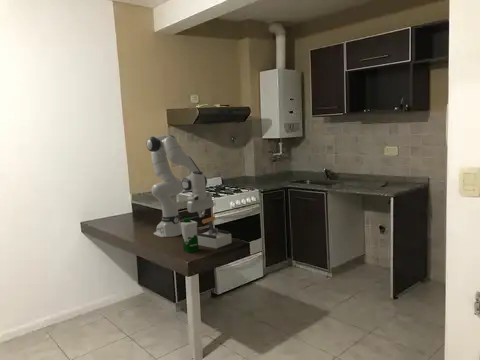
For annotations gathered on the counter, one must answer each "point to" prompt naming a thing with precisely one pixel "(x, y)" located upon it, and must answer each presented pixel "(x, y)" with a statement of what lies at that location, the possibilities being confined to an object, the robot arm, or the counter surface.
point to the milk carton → (189, 235)
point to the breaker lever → (210, 223)
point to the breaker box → (215, 243)
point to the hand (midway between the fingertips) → (201, 216)
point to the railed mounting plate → (212, 235)
